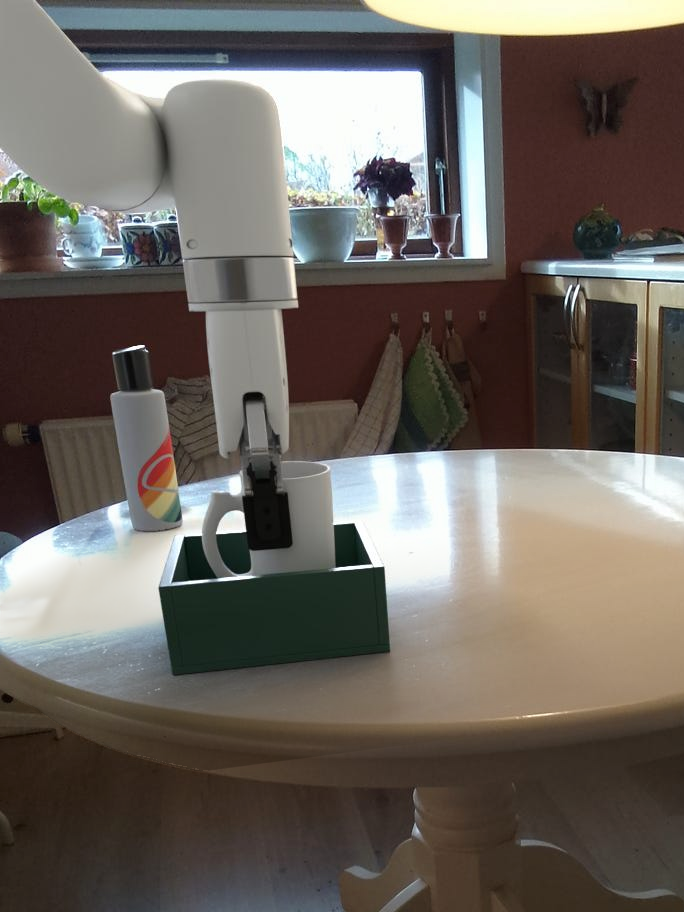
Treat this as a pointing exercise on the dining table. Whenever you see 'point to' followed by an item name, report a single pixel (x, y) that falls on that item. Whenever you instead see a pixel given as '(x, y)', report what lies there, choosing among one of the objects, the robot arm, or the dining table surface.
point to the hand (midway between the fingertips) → (269, 534)
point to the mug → (307, 518)
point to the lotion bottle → (144, 443)
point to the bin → (272, 605)
